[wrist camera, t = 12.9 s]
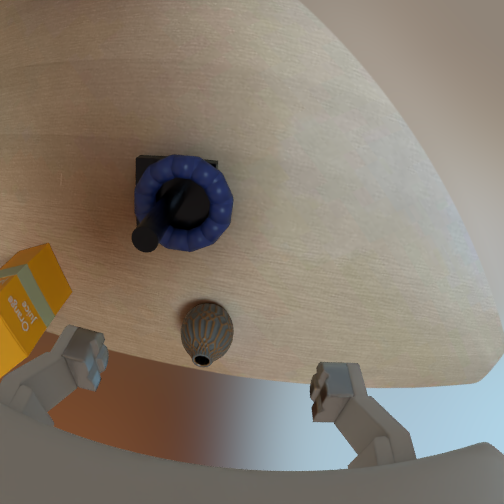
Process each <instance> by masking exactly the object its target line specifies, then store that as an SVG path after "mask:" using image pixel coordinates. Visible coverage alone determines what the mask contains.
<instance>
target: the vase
mask: <svg viewBox="0 0 504 504" xmlns="http://www.w3.org/2000/svg"><path fill="white" fill-rule="evenodd" d="M181 340H182V344H183V346H184V348H185V350H186V351H187V353H188V354H189V355H190V356H191V358H192V361H193V363H194V364H195V365H197V366H200V367H208V366H210V365H211V364H212V363H213V361H215V360H217V359H219V358H220V357H222V356H223V355H224V354H225V353H226V352H227V351H228V349H229V347H230V345H231V343H232V340H233V324H232V320H231V318H230V316H229V314H228V313H227V312H226V311H225V310H224V309H223V308H221V307H220V306H217V305H215V304H208V303H207V304H201V305H198V306H196V307H194V308H193V309H191V310H190V311H189V313H188V314H187V315H186V317H185V318H184V321H183V324H182V327H181Z"/></svg>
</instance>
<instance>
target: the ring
mask: <svg viewBox="0 0 504 504" xmlns="http://www.w3.org/2000/svg"><path fill="white" fill-rule="evenodd" d="M174 178H183V179H191V180H192V181H194V182H195V183H197V184H198V185H199V186H201V187H202V188H204V190H205V192H206V194H207V197H208V199H209V201H210V208H209V216H208V217H207V218H206V219H205V221H204V222H203V223H202V225H200V226H198V227H195V228H193V229H190V230H185V229H177V228H174V227H172V226H171V225H170V226H169V227H168V229H167V231H166V232H165V234H164V236H163V237H162V239H161V241H160V242H159V244H161V245H162V246H164V247H165V248H167V249H173V250H180V251H188V252H192V251H195V250H198V249H201V248H203V247H206V246H209V245H212V244H214V243H215V242H216V241H217V240H218V238H219V237H220V236H221V235H222V234H223V232H224V231H225V230H226V229H227V227H228V226H229V225H230V222H231V215H232V207H233V195H232V193H231V191H230V189H229V186H228V184H227V182H226V180H225V178H224V175H223V174H222V173H221V172H220V171H219V170H218V169H216V168H215V167H213V166H212V165H211V164H209V163H208V162H206V161H205V160H204V159H202V158H200V157H196V156H186V155H176V154H174V155H170V156H168V157H165V158H163V159H161V160H159V161H157V162H155V163H153V164H151V165H149V166H148V167H147V169H146V170H145V172H144V173H143V175H142V177H141V178H140V180H139V182H138V183H137V185H136V187H135V191H134V205H135V215H136V217H137V219H138V220H139V222H141V221H142V220H143V219H144V217H145V216H146V215H147V214H148V212H149V211H150V210H151V209H152V208H153V206H154V205H155V204H156V194H157V192H158V190H159V189H160V187H161V186H162V184H163V183H165V182H167V181H170V180H172V179H174Z"/></svg>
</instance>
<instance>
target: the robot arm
mask: <svg viewBox="0 0 504 504" xmlns="http://www.w3.org/2000/svg"><path fill="white" fill-rule="evenodd" d="M104 341H105V338H104V335H103V333H100V332H96V331H92V330H88V329H85V328H81V327H77V326H73V325H68V326H66V327H65V329H64V330H63V332H62V334H61V335H60V337H59V339H58V340H57V342H56V343H55V345H54V347H53V348H52V350H51V352H50V353H49V352H46V353H44V354H42V355H40V356H39V357H37V358H35V359H33V360H32V361H30V362H28V363H26V364H24V365H23V366H21V367H19V368H17V369H16V370H14V371H12V372H10V373H9V374H7V375H5V376H4V378H3V380H2V381H1V383H0V504H504V455H503V454H502V453H501V452H500V451H499V450H497V449H496V448H495V447H494V446H492V445H491V444H489V443H487V442H482V443H477V444H475V445H471V446H468V447H464V448H461V449H457V450H453V451H450V452H446V453H442V454H438V455H434V456H429V457H424V458H420V459H416V455H415V451H414V448H413V444H412V440H411V437H410V433H409V432H408V431H407V430H406V429H405V428H404V427H403V426H402V425H401V424H400V423H399V422H397V421H396V419H394V418H393V417H392V416H391V415H390V414H389V413H388V412H387V411H386V410H385V409H384V408H383V407H382V406H381V405H379V403H378V402H377V401H376V400H375V399H374V398H372V397H371V396H368V395H367V391H366V387H365V384H364V380H363V377H362V373H361V369H360V366H359V364H358V363H342V362H320V363H319V364H318V366H317V368H316V369H317V373H316V374H315V375H313V377H312V380H311V384H310V398H311V399H312V400H313V401H314V404H313V406H312V415H313V422H334V424H335V425H336V427H337V428H338V429H339V431H340V432H341V433H342V434H343V436H344V437H345V439H346V440H347V441H348V442H349V444H350V445H351V446H352V448H353V449H354V450H355V452H356V453H357V454H358V456H357V457H356V458H355V459H354V460H353V461H352V462H351V463H350V464H349V465H348V469H340V470H325V471H324V470H323V471H261V470H243V469H232V468H221V467H212V466H204V465H197V464H191V463H184V462H178V461H173V460H167V459H162V458H157V457H153V456H148V455H143V454H139V453H135V452H131V451H127V450H123V449H119V448H116V447H112V446H109V445H105V444H102V443H99V442H95V441H92V440H89V439H86V438H83V437H80V436H77V435H74V434H71V433H69V432H66V431H63V430H61V429H58V428H55V427H53V426H54V422H53V420H52V419H51V417H50V416H49V414H48V413H47V412H48V411H49V410H50V409H51V408H53V407H54V406H55V405H57V404H58V403H59V402H60V401H61V400H63V399H64V398H65V397H66V396H68V395H69V394H70V393H71V392H73V391H74V390H75V389H76V388H77V387H80V388H84V389H88V390H92V391H96V390H97V388H98V385H99V383H100V381H101V377H100V373H101V372H103V371H104V370H105V369H106V366H107V363H108V349H107V347H106V346H105V345H104V344H103V343H104Z"/></svg>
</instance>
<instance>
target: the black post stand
mask: <svg viewBox="0 0 504 504" xmlns="http://www.w3.org/2000/svg"><path fill="white" fill-rule="evenodd" d="M165 157H167V156H151V155H140V156H138V157H137V158H136V185H137V183H138V182H139V180H140V178H141V177H142V175H143V173H144V172H145V170H146V169H147V167H148V166H149V165H151V164H153V163H155V162H157V161H159V160H161V159H163V158H165ZM204 160H205V159H204ZM205 161H206V162H208V163H209V164H211V165H212V166H213V167H215V168H216V169H218V161H215V160H205ZM209 208H210V201H209V199H208V197H207V194H206V192H205V190H204V188H202V187H201V186H199V185H198V184H197V183H195V182H194V181H192V180H191V179H183V178H174V179H172V180H170V181H167V182H165V183H163V184H162V186H161V187H160V189H159V190H158V192H157V194H156V204H155V205H154V206H153V208H152V209H151V210H150V211H149V212H148V214H147V215H146V216H145V217H144V219H143V220H142V221H141V222H139V220H138V219H137V217H136V220H137V227H136V229H135V230H134V231H133V233H132V242H133V245H134V246H135V247H136V248H137V249H138V250H140V251H142V252H152V251H154V250H155V249H156V248H157V246H158V244H159V242H160V241H161V239H162V237H163V236H164V234H165V232H166V231H167V229H168V227H169V226H170V225H171V226H172V227H174V228H177V229H185V230H190V229H193V228H195V227H198V226H200V225H202V223H203V222H204V221H205V219H206V218H207V217H208V216H209Z"/></svg>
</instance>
